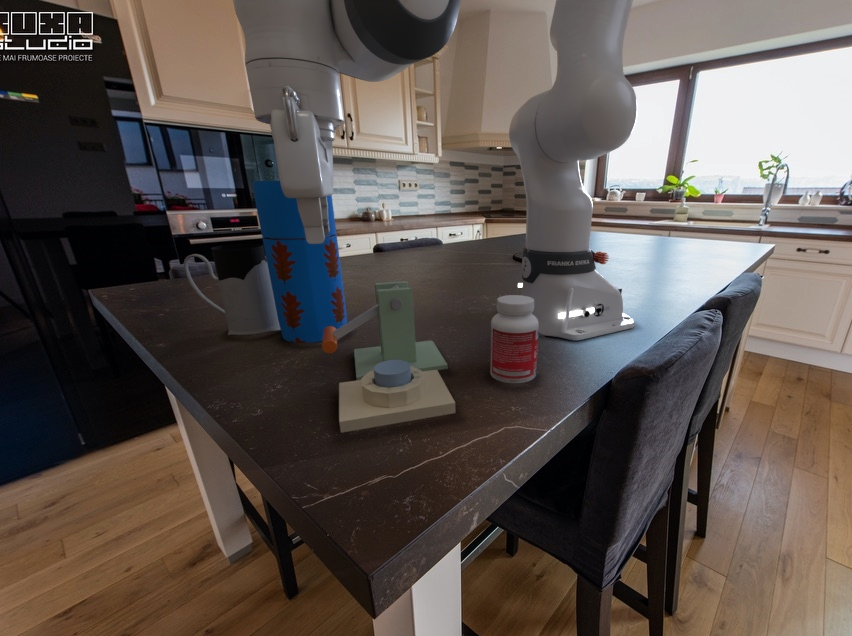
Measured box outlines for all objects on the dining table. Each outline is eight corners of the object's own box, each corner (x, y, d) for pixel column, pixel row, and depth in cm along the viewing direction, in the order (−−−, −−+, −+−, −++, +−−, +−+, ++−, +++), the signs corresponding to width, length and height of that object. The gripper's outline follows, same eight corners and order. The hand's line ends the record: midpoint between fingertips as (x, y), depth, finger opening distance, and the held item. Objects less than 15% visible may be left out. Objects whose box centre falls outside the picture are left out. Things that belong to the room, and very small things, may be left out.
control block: (437, 384, 52) (436, 356, 50) (455, 419, 44) (454, 387, 42) (341, 398, 48) (337, 369, 47) (341, 440, 40) (336, 405, 39)
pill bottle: (542, 386, 51) (548, 304, 47) (496, 391, 50) (498, 307, 46) (526, 367, 57) (530, 292, 53) (485, 371, 55) (485, 294, 51)
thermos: (326, 350, 63) (301, 180, 54) (267, 345, 65) (233, 180, 56) (359, 328, 73) (342, 182, 64) (307, 324, 75) (283, 182, 66)
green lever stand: (357, 387, 51) (346, 298, 47) (354, 358, 60) (345, 281, 56) (447, 374, 54) (445, 290, 50) (432, 348, 63) (429, 275, 59)
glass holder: (267, 340, 67) (248, 250, 61) (184, 340, 67) (158, 250, 62) (291, 324, 75) (276, 243, 70) (217, 323, 75) (197, 243, 70)
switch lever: (329, 357, 50) (317, 343, 49) (330, 341, 56) (319, 328, 55) (410, 306, 52) (400, 291, 50) (404, 295, 57) (394, 281, 56)
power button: (408, 371, 47) (407, 357, 46) (413, 386, 43) (413, 371, 43) (373, 376, 46) (372, 362, 45) (376, 391, 42) (375, 376, 42)
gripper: (324, 81, 33) (346, 248, 38) (334, 120, 52) (348, 229, 56) (240, 76, 32) (275, 252, 37) (282, 118, 50) (301, 231, 55)
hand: (319, 238), depth 47 cm, fingers open, 8 cm apart
